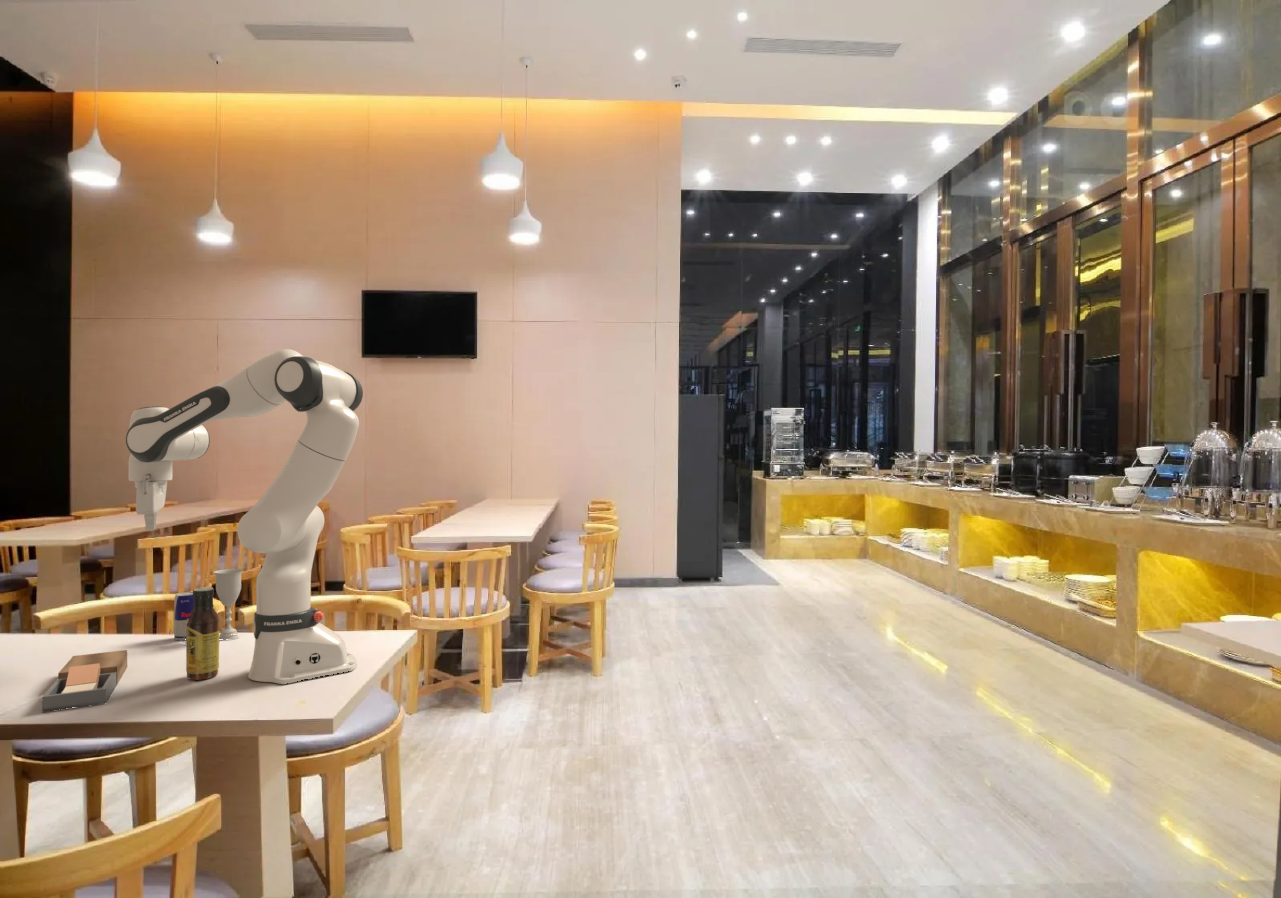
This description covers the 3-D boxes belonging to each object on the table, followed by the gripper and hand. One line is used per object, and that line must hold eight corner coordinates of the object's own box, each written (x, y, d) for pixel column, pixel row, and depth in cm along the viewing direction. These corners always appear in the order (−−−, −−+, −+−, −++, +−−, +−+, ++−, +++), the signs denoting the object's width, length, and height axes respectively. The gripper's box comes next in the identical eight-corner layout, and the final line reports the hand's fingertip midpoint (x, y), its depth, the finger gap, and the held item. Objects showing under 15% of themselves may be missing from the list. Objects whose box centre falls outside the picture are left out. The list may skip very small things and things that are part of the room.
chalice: (248, 637, 192) (248, 570, 192) (222, 642, 186) (222, 574, 186) (234, 633, 196) (234, 568, 196) (208, 638, 190) (208, 571, 190)
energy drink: (186, 641, 188) (186, 596, 188) (169, 640, 189) (169, 595, 189) (202, 636, 193) (202, 592, 193) (186, 635, 194) (185, 591, 194)
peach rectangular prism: (100, 669, 152) (99, 663, 151) (97, 688, 148) (96, 681, 147) (70, 673, 149) (69, 667, 148) (66, 692, 146) (65, 685, 145)
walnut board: (127, 667, 166) (127, 650, 166) (117, 684, 154) (117, 666, 154) (73, 673, 161) (73, 656, 161) (58, 692, 149) (58, 673, 149)
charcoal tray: (116, 686, 153) (116, 672, 153) (106, 703, 142) (105, 688, 142) (57, 693, 148) (57, 679, 148) (42, 712, 137) (42, 697, 137)
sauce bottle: (184, 676, 159) (184, 587, 159) (217, 671, 163) (217, 584, 163) (187, 684, 154) (187, 592, 154) (221, 678, 158) (221, 589, 158)
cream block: (92, 689, 143) (92, 699, 143) (96, 682, 147) (96, 692, 147) (61, 693, 140) (61, 703, 140) (65, 686, 145) (65, 696, 145)
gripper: (161, 474, 165) (161, 534, 165) (170, 472, 183) (170, 525, 183) (128, 475, 162) (128, 535, 162) (141, 472, 180) (141, 526, 180)
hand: (150, 530), depth 173 cm, fingers closed
